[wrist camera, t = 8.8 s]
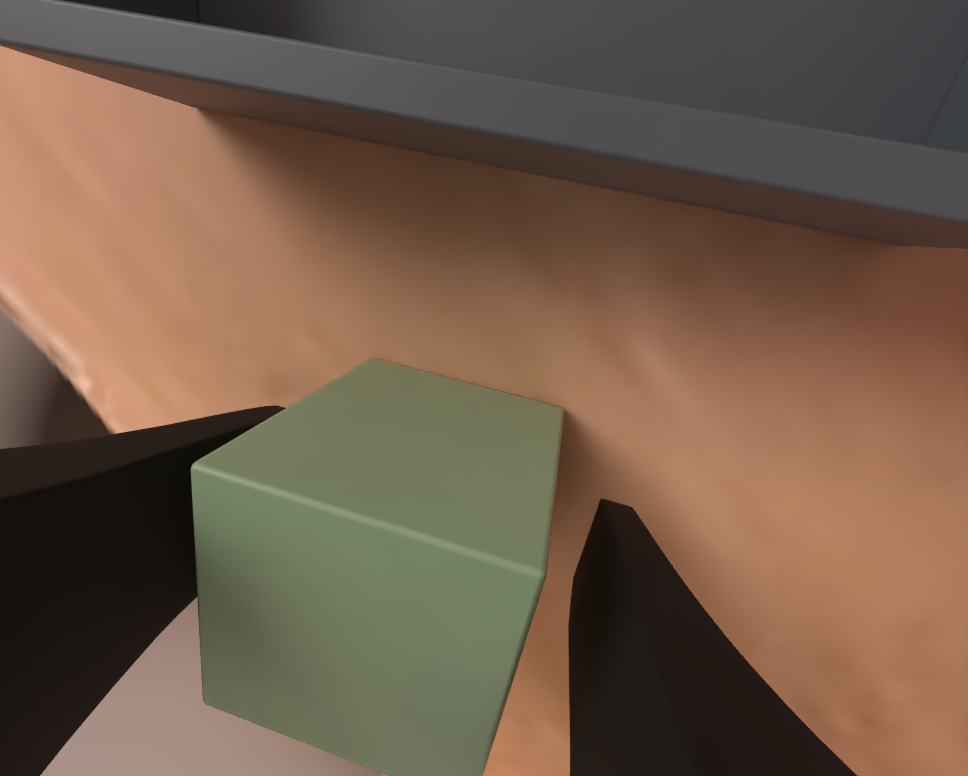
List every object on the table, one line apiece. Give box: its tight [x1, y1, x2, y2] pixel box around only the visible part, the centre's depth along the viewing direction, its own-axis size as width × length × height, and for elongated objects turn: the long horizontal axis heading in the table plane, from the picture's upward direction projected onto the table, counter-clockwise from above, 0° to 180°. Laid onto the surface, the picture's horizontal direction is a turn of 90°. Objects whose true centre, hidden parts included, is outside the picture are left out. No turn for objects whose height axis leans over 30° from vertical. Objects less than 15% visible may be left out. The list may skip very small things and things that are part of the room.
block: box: [191, 358, 564, 776], centre depth 8 cm, size 4×4×5 cm
